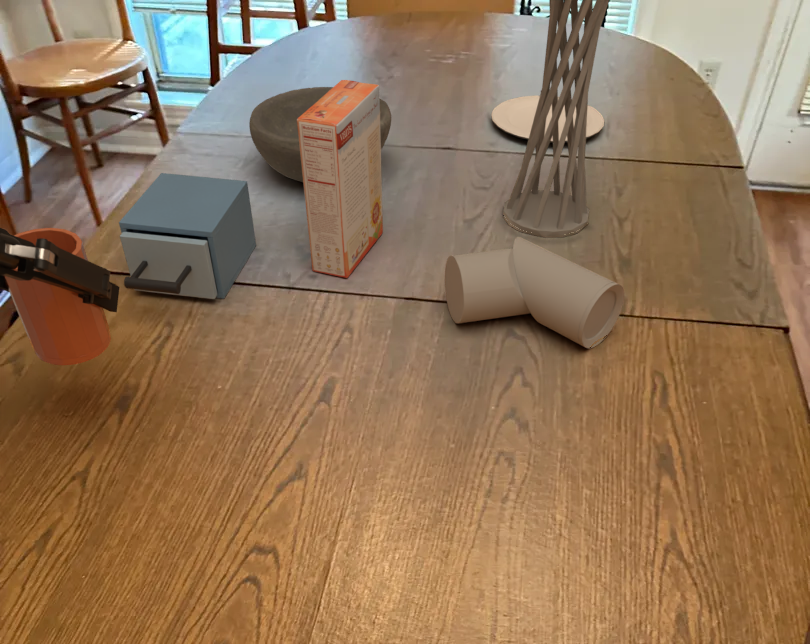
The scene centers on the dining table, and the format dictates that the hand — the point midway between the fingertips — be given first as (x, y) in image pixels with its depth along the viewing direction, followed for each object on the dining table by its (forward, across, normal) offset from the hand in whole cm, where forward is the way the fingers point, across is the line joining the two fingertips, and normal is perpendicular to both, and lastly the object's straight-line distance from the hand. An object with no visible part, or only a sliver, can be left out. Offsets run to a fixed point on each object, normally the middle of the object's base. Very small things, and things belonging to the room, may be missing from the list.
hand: (76, 294), depth 84 cm
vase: (+47, -49, -29) cm, 74 cm away
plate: (+72, -47, -54) cm, 101 cm away
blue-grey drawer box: (+29, -1, -11) cm, 31 cm away
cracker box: (+35, -21, -17) cm, 44 cm away
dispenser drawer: (+25, -1, -8) cm, 26 cm away
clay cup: (0, 0, +5) cm, 5 cm away
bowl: (+53, -11, -34) cm, 64 cm away
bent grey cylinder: (+26, -49, -8) cm, 56 cm away
